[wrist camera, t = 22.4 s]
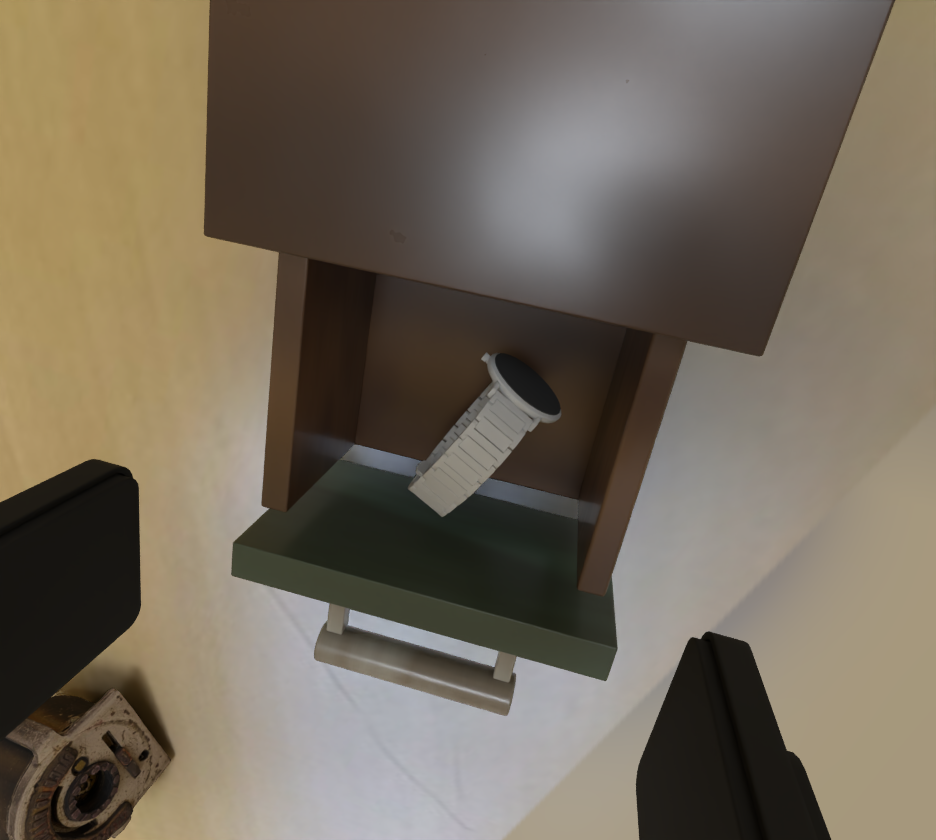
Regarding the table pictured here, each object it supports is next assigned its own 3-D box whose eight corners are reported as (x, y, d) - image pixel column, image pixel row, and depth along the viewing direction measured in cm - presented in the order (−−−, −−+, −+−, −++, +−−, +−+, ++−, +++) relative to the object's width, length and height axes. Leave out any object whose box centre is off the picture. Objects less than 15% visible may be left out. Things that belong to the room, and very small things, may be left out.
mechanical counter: (108, 925, 29) (76, 842, 24) (-142, 862, 29) (-233, 763, 24) (186, 775, 35) (174, 680, 30) (-23, 722, 35) (-72, 617, 30)
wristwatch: (568, 386, 20) (563, 438, 15) (474, 484, 22) (445, 557, 17) (502, 330, 20) (478, 365, 15) (414, 433, 22) (367, 493, 17)
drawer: (571, 645, 25) (567, 794, 18) (312, 573, 26) (224, 689, 19) (725, 149, 18) (803, 112, 12) (366, 83, 19) (258, 18, 13)
